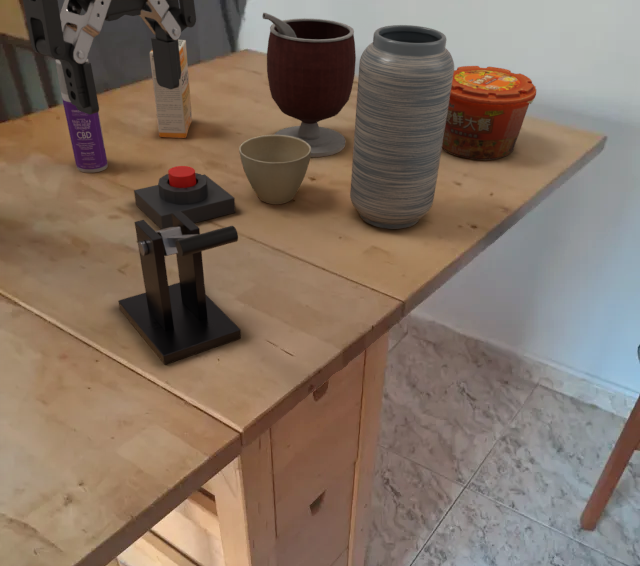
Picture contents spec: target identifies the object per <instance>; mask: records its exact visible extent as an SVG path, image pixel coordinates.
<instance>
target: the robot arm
mask: <svg viewBox="0 0 640 566" xmlns="http://www.w3.org/2000/svg"><path fill="white" fill-rule="evenodd" d="M22 2H23V8H24V12H25V18H26V24H27V30H28V36H29V40H30V45H31V49H32V50H33V51H34V52H35V53H37V54H39V55H43V56H46V57H49V58H51V59H54V60H56V59H57V60H59V61H60V62H61V65H62V69H63V74H64V78H65V83H66V88H67V92H68V97H69V100H70V101H71V103H72V104H73V105H75V106H76V108H77V109H78V110H79V111H81V112H84V113H87V114H89V115H91V114H94V113H97V112H99V113H100V104H99V100H98V94H97V89H96V84H95V79H94V73H93V68H92V67H93V66H92V63H91V62H90V61H89V62H86V60H87V58H88V57H89V54H90V51H91V47H92V45H93V41H94V39H95V37H96V36H99V35H100V33H101V31H102V29H103V26H104V23H105V21H106V22H113V21H117V20H119V19H121V18H122V17H123V16H130V17H136V16H138V17H140V19H142V21H143V22H144V23H145V25H146V26H147V27H148V29H149V30H150V31H151V33H152V34H153V35H154V37H150V41H151V42H150V43H151V50H152V49H153V57H154V65H155V73H156V80H157V83H158V84H159V86H161V87H164V88H168V89H175V88H178V87H179V79H180V78H181V66H180V64H181V63H180V54H179V44H178V40H180V38H181V35H182V32H183V31H185V30H186V29H187V28H194V27H195V25H196V23H197V14H196V7H195V0H63V4H62V7H61V9H60V8H59V2H58V0H22ZM82 9H83V10H84V12H85V13H84V14H82V13H81V12H82Z"/></svg>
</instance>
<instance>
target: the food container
mask: <svg viewBox="0 0 640 566" xmlns="http://www.w3.org/2000/svg"><path fill="white" fill-rule="evenodd" d="M536 87H537V86H535V84H534V83H533V80H532V78H530V77H528V76H527V75H525V74H522V73H514V72H512V71H511V70H510V69H506V68H502V67H495V66H487V67H480V66H479V65H463V66H458V67H457V69H456V70H455V69H454V74H453V81H452V87H451V93H450V100H449V106H448V112H447V118H446V125H445V131H444V137H443V144H442V150H443V151H445V152H447V153H448V154H451V155H454V156H457V157H461V158H464V159H470V160H479V161H480V160H481V161H483V160H484V161H487V160H488V161H489V160H497V159H501V158H505V157H507V156H508V155H511V153H512V152H513V151H514V149H515V146H516V143H517V141H518V137H519V134H520V131H521V129H522V126H523V124H524V120H525V117H526V114H527V112H528V108H529V106H530V105H531V104H533V102H534V100H535V99H536V95H537V88H536Z"/></svg>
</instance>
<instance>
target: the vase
mask: <svg viewBox="0 0 640 566" xmlns="http://www.w3.org/2000/svg"><path fill="white" fill-rule="evenodd" d="M372 38H373V39H372V42H371V43H369V44H368V45H367V46H366V47H365V48H364V50H363V52H362V54H361V55H360V59H359V65H358V78H357V79H358V80H357V93H356V106H355V121H354V134H353V135H354V136H353V147H352V149H353V150H352V163H351V176H350V177H351V178H350V191H349V198H350V201H351V204H352V206H353V207H354V209H355V210H356V212H358V214H359V217H360V219H362V220H363V221H364V222H365V223H366V224H368V225H370V226H373V227H376V228H380V229H385V230H386V229H387V230H403V229H407V228H411V227H413V226H414V225H416V224H417V223H418V222H419V221H420V220H421V219H422V218H424V216H426V214H428V212H429V211H430V210H431V208H432V207H433V204H434V201H435V193H436V187H437V183H438V182H437V180H438V176H439V169H440V162H441V157H442V156H441V155H442V150H443V149H442V144H443V137H444V131H445V125H446V118H447V112H448V106H449V100H450V93H451V87H452V81H453V74H454V70H455V62H454V58H453V56H452V54H451V51H449V49H448V48H447V47H446V45H447V36H446V34H445V33H443V32H441V31H439V30H437V29H435V28H431V27H427V26H420V25H413V24H412V25H410V24H392V25H385V26H382V27H379V28H377V29H376V30H375V31H374V32H373V37H372Z"/></svg>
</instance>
